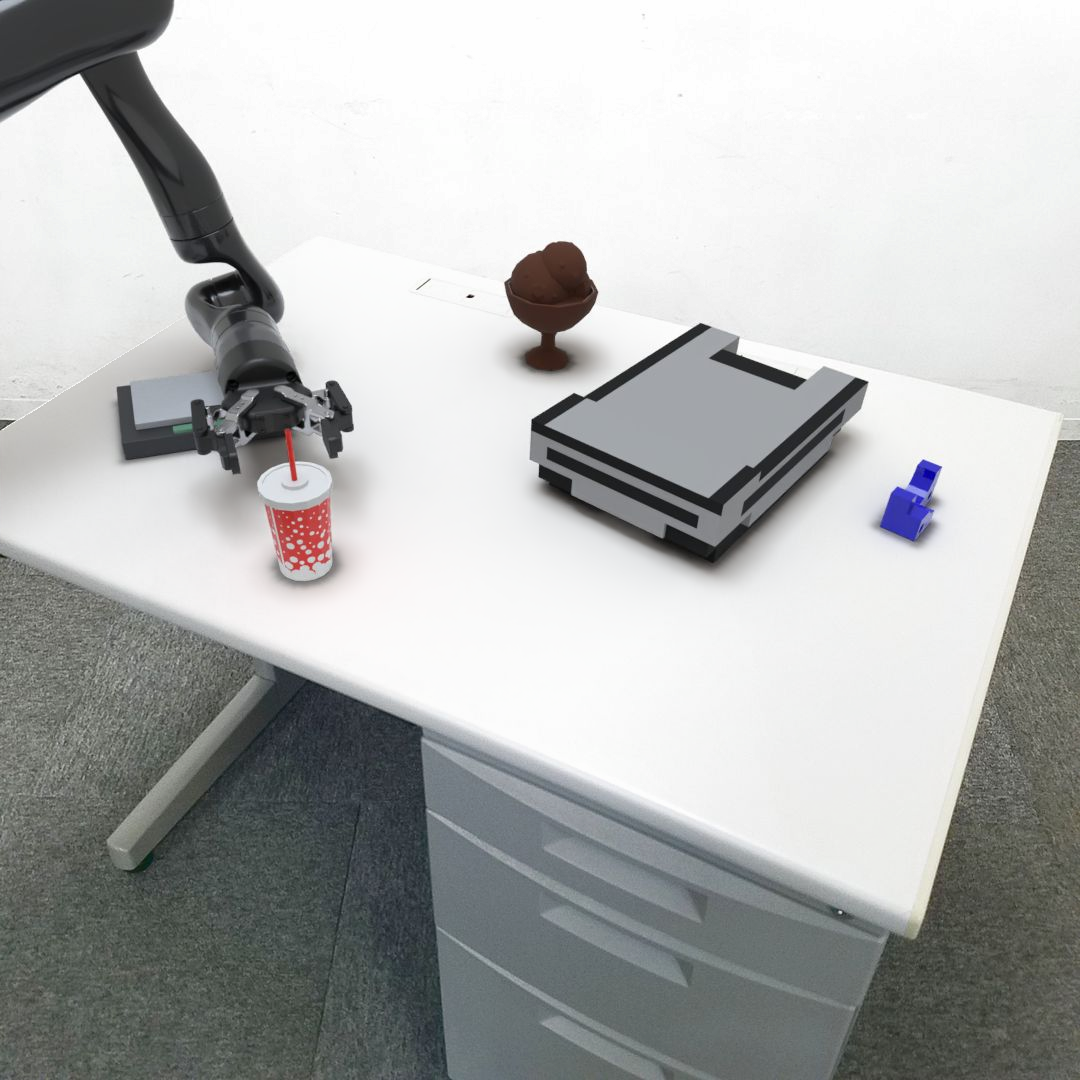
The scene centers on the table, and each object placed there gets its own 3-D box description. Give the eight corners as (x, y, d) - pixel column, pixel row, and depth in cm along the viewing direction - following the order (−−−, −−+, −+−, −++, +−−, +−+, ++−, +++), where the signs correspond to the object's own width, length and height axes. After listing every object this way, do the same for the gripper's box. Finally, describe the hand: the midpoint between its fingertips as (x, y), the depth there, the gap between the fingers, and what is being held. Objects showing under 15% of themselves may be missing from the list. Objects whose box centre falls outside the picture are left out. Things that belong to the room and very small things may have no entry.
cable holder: (914, 541, 92) (926, 507, 90) (879, 526, 94) (890, 492, 92) (944, 505, 97) (957, 472, 95) (911, 491, 99) (923, 459, 97)
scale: (126, 460, 97) (119, 436, 95) (120, 402, 106) (114, 379, 104) (286, 435, 102) (283, 412, 100) (268, 382, 111) (265, 360, 109)
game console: (852, 437, 107) (871, 371, 102) (708, 578, 87) (723, 504, 81) (692, 376, 117) (702, 313, 111) (528, 490, 96) (531, 419, 91)
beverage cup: (355, 562, 86) (342, 428, 77) (302, 596, 82) (282, 459, 74) (309, 534, 89) (292, 402, 80) (256, 566, 85) (231, 431, 76)
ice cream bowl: (580, 337, 123) (589, 221, 114) (599, 379, 115) (610, 258, 105) (498, 340, 122) (500, 223, 112) (511, 383, 113) (514, 260, 104)
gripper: (175, 347, 92) (193, 434, 80) (324, 329, 96) (362, 408, 84) (189, 416, 96) (208, 507, 85) (331, 395, 101) (368, 479, 89)
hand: (285, 457), depth 84 cm, fingers open, 8 cm apart
